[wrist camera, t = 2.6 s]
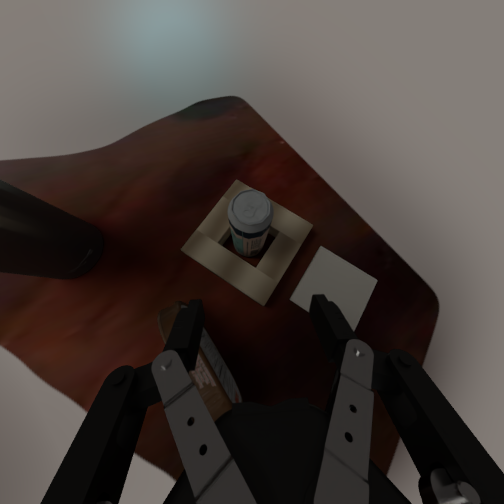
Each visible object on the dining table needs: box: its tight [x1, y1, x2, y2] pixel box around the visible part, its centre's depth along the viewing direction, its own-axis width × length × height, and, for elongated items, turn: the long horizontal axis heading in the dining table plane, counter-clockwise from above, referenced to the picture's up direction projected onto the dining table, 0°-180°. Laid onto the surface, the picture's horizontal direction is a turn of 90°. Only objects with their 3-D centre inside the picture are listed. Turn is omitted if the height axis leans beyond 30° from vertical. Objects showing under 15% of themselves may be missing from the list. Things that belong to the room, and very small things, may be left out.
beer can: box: [228, 189, 274, 257], centre depth 24 cm, size 5×5×12 cm
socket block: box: [181, 180, 313, 306], centre depth 28 cm, size 14×14×3 cm
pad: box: [289, 246, 377, 331], centre depth 28 cm, size 10×10×1 cm
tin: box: [158, 301, 243, 422], centre depth 21 cm, size 15×3×8 cm, turn 34°
